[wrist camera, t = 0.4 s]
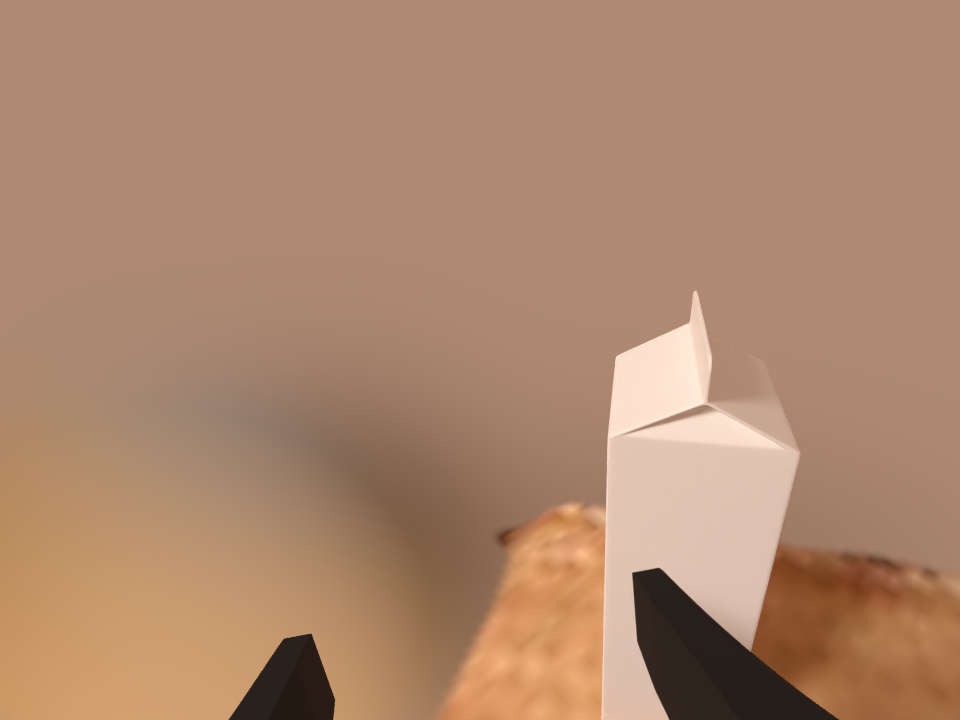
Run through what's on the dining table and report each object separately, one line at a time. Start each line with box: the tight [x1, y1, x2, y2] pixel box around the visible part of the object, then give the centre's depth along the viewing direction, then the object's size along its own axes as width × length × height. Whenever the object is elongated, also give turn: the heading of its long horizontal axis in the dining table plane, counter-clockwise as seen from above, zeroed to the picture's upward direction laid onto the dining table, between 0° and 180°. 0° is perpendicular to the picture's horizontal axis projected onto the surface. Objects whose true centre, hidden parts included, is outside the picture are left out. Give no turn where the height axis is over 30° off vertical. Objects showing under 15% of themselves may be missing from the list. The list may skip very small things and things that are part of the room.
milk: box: [602, 291, 801, 720], centre depth 23 cm, size 6×6×22 cm
